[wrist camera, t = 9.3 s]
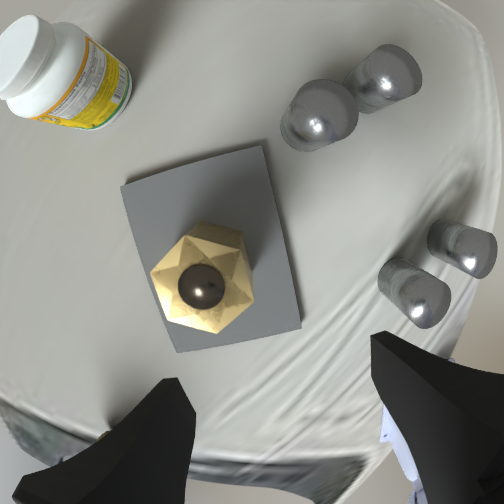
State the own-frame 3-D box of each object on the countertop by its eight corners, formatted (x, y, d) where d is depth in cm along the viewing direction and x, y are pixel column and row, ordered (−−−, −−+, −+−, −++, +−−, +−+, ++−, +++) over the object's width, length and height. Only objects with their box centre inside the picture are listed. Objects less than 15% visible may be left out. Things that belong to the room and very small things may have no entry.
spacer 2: (387, 112, 15) (428, 95, 10) (349, 115, 15) (383, 96, 11) (375, 72, 15) (411, 46, 10) (336, 73, 15) (365, 43, 10)
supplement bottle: (148, 93, 15) (67, 32, 6) (89, 147, 16) (-16, 137, 6) (113, 48, 14) (38, -13, 4) (59, 98, 14) (-32, 72, 5)
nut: (257, 290, 18) (260, 325, 13) (191, 305, 18) (176, 341, 13) (236, 211, 16) (232, 222, 12) (166, 229, 16) (140, 247, 12)
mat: (300, 324, 19) (302, 328, 18) (178, 348, 19) (176, 353, 19) (261, 146, 16) (261, 145, 15) (123, 186, 16) (119, 186, 16)
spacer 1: (333, 147, 16) (365, 136, 11) (287, 155, 16) (303, 146, 11) (321, 102, 15) (348, 77, 10) (275, 109, 15) (286, 83, 11)
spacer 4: (455, 252, 18) (496, 271, 13) (428, 261, 18) (468, 284, 13) (453, 215, 17) (497, 227, 12) (425, 223, 17) (470, 238, 12)
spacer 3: (412, 290, 19) (449, 319, 14) (378, 301, 19) (411, 335, 14) (411, 253, 18) (452, 275, 13) (376, 263, 18) (412, 290, 13)
